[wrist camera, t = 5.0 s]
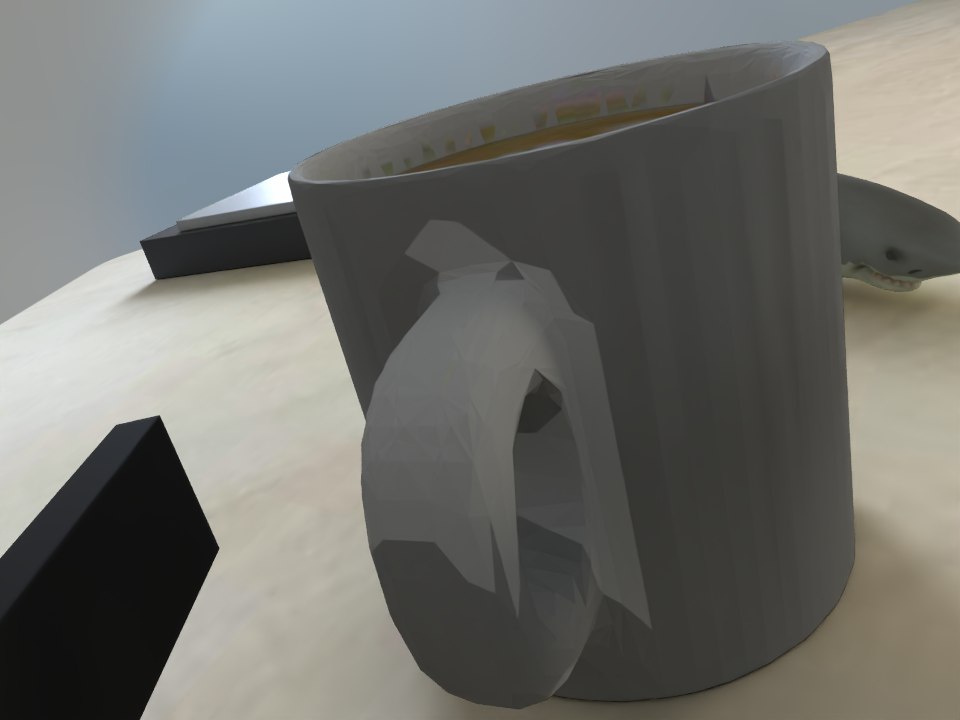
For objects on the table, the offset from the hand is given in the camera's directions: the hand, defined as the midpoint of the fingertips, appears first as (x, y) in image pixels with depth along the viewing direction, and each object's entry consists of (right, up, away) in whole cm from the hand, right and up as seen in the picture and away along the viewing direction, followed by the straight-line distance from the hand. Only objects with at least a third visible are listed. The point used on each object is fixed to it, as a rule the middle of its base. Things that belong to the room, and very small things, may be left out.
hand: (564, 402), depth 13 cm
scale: (-14, +11, +48) cm, 51 cm away
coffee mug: (+1, -4, +5) cm, 7 cm away
